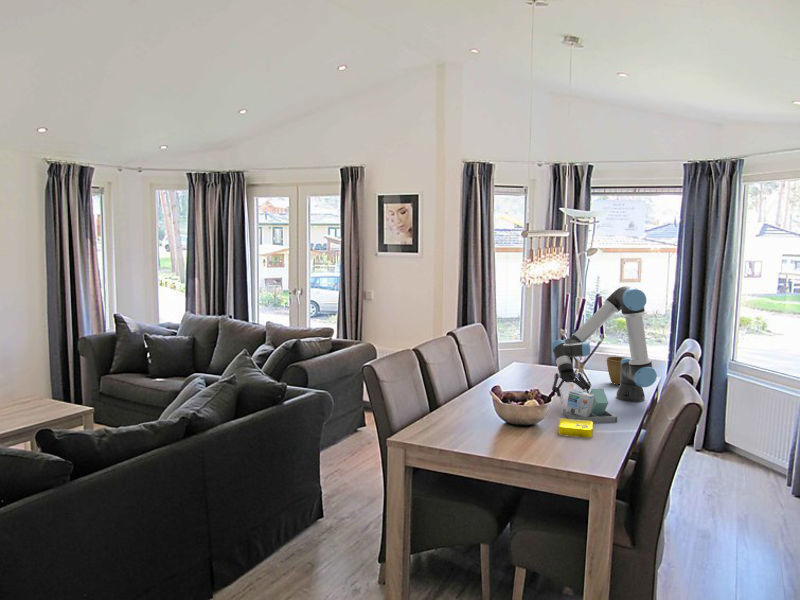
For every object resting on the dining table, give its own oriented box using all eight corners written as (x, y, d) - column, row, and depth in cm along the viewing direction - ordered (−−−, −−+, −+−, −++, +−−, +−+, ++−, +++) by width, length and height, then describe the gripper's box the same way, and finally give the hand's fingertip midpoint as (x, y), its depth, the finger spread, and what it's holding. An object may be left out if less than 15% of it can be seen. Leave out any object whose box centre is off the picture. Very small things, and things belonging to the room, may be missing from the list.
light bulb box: (565, 411, 303) (569, 390, 302) (570, 409, 308) (574, 389, 308) (586, 417, 297) (589, 395, 296) (590, 415, 302) (594, 394, 301)
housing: (602, 414, 311) (602, 408, 311) (616, 423, 295) (617, 417, 295) (563, 415, 309) (563, 409, 309) (575, 424, 293) (575, 417, 293)
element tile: (592, 429, 286) (593, 419, 286) (592, 439, 272) (592, 428, 272) (559, 426, 291) (560, 416, 291) (557, 435, 277) (558, 425, 276)
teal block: (602, 415, 307) (597, 400, 313) (608, 403, 300) (603, 388, 307) (591, 415, 306) (586, 400, 313) (596, 402, 300) (591, 388, 306)
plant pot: (601, 383, 382) (602, 358, 381) (613, 380, 392) (614, 355, 391) (623, 387, 371) (624, 361, 370) (635, 384, 381) (636, 359, 380)
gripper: (584, 369, 326) (596, 404, 313) (540, 370, 323) (549, 405, 310) (589, 362, 321) (601, 397, 307) (544, 362, 318) (554, 398, 304)
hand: (575, 401), depth 309 cm, fingers open, 13 cm apart
